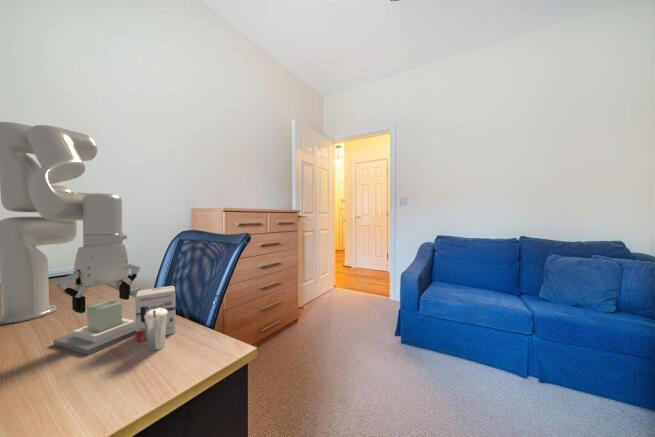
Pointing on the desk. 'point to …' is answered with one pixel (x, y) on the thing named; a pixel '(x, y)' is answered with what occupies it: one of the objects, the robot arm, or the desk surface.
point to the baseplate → (96, 338)
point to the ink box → (152, 301)
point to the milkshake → (156, 328)
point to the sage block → (104, 316)
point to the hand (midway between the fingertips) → (103, 305)
